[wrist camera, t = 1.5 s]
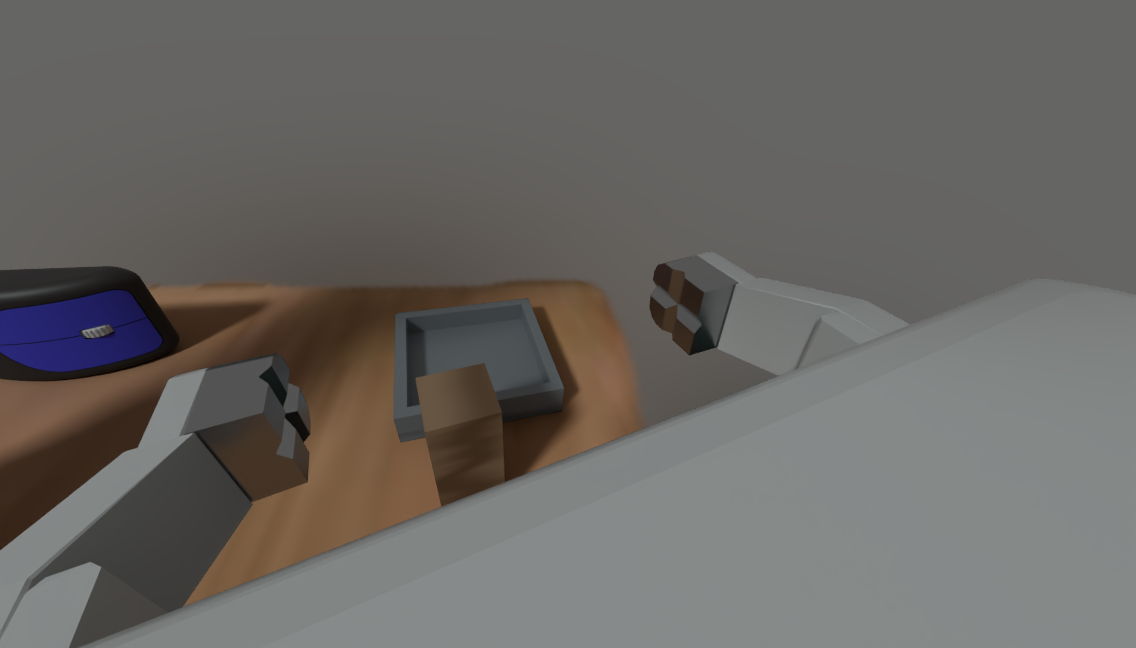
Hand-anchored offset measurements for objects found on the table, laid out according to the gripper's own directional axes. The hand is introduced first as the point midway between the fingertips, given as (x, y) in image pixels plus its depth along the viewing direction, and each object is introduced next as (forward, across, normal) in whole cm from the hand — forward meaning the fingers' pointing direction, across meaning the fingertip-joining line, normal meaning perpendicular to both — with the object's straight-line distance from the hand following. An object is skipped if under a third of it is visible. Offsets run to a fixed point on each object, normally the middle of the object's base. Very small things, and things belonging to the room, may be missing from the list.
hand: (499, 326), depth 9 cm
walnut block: (+13, +1, +24) cm, 27 cm away
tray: (+24, -3, +23) cm, 33 cm away
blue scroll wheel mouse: (+39, +31, +21) cm, 54 cm away
